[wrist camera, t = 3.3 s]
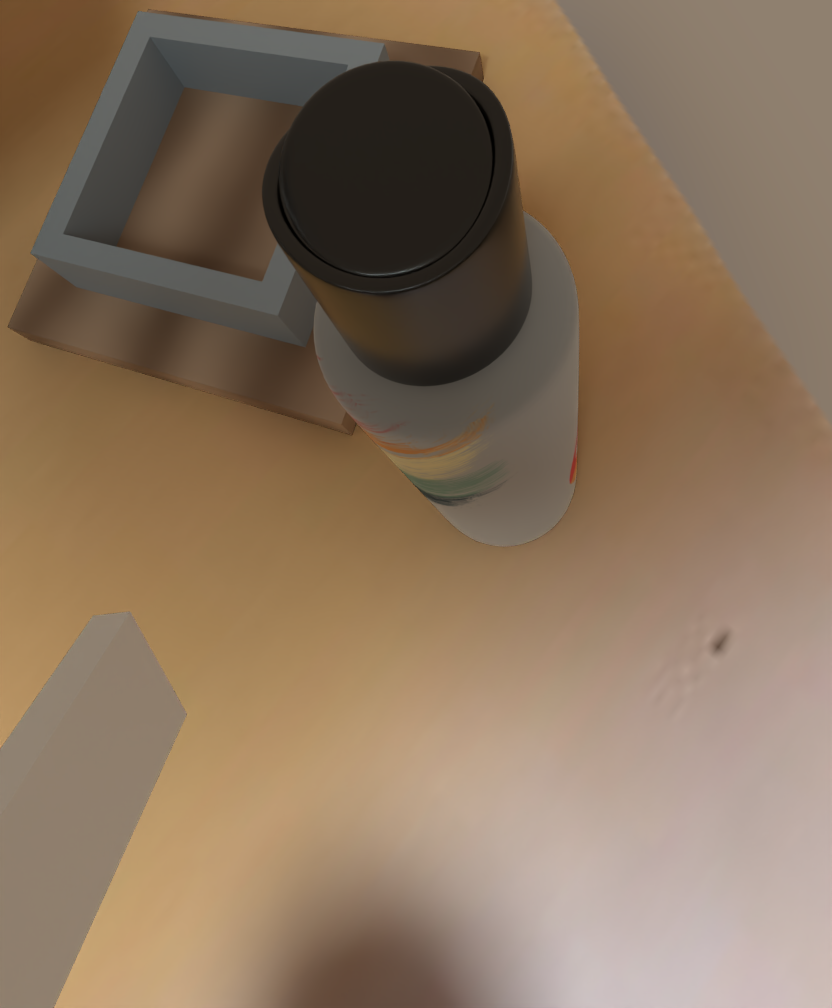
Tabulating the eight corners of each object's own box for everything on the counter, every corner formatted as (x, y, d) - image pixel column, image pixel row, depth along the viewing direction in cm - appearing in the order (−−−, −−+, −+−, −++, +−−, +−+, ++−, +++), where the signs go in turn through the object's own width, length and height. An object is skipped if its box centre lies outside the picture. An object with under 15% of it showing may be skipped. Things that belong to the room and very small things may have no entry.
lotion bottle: (549, 394, 30) (503, -83, 10) (597, 522, 28) (648, 240, 9) (420, 441, 30) (158, 77, 11) (461, 567, 29) (239, 398, 10)
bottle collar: (76, 287, 34) (30, 253, 31) (173, 63, 35) (138, 11, 33) (305, 347, 31) (277, 315, 28) (401, 97, 32) (384, 43, 29)
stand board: (30, 340, 36) (7, 327, 34) (164, 33, 38) (148, 9, 37) (352, 435, 31) (341, 424, 30) (483, 78, 33) (479, 52, 32)
